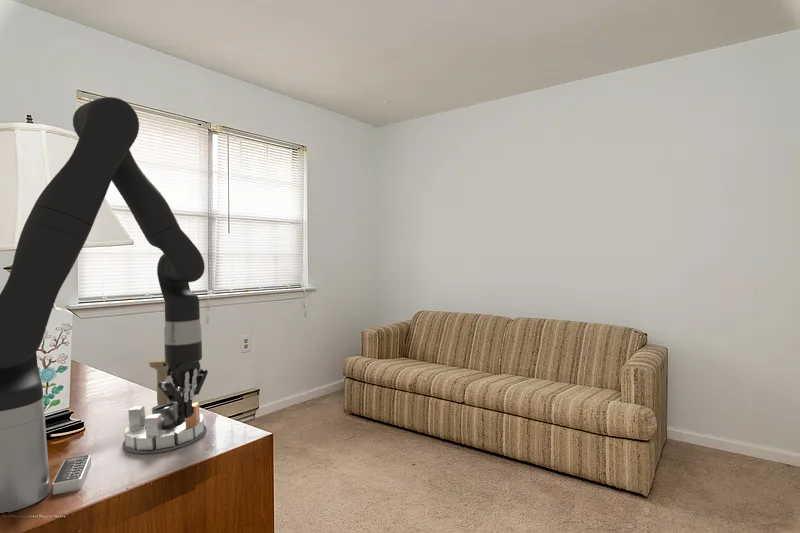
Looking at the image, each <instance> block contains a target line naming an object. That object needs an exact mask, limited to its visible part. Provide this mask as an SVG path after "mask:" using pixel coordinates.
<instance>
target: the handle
mask: <svg viewBox="0 0 800 533" xmlns="http://www.w3.org/2000/svg"><path fill="white" fill-rule="evenodd" d="M148 364H149V367H150V368H151V369H155V370H156V401H157V402H156V403H157V405H161V404H166V403H167V399H168V398H167V396H166V395H165V394H164V393H163V392H162V390H161V389H160V388H159V387H158V384H159V383H160V382H164V381H165V379H166V378H167V371H168V364H167V363H166V362H165V356H164V357H157V358H153V359H150V360H148Z"/></svg>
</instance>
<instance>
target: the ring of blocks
mask: <svg viewBox="0 0 800 533" xmlns="http://www.w3.org/2000/svg"><path fill="white" fill-rule="evenodd" d="M151 414H161V415H162V430H167V429H172V428H174V427H177V426H178V422H177V405H176V404H174V402H171V403H166V404H161V405H158V404H157V405H155V406H153V407H152V408H151ZM206 433H207V426H206V425H205V424H204V430H203V432H202V433H200V434H199V435H198V436H197V437H196V438H193V439H192V440H189V441H187V442H184V443H182V444H179V445H178V444H175V446H171V447H166V448H161V449H156V448H154V449H153V450H137V448H136V449H132V448H130V447H128V446H126V445H125V439H124V440H123V442H122V449H123V450H124V451H125V452H127V453H130V454H134V455H154V454H162V453H167V452H171V451H176V450H179V449H182V448H185V447H187V446H190V445H193V444H194V443H196V442H198V441H199V440H201V439H202V438H203V437H204V436H205V435H206Z"/></svg>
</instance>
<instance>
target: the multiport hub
mask: <svg viewBox="0 0 800 533" xmlns="http://www.w3.org/2000/svg"><path fill="white" fill-rule="evenodd" d="M91 466H92V455H91V454H86V455H81V456H75V457H69V458H65V459H64V460H63V462H62V463H61V466H60V468H59V469H58V471H57V473H56V476H55V477H54V479H53V480H52V483H51V490H52V491H51V492H52V495H58V494H59V495H60V494H63V493H68V492H73V491H78V490H80V489H82V488H83V487H84V484H85V481H86V480H87V476H88V474H89V471H90V469H91Z"/></svg>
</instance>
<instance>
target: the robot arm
mask: <svg viewBox="0 0 800 533" xmlns="http://www.w3.org/2000/svg"><path fill="white" fill-rule="evenodd" d="M72 126H73V129H74V132H75V134H76V135H77V137H78V140H77V143H76V144H75V147H74V150H73V152H72V153H71V155H70V157H69V159H68V160H67V161H66V162H65V164H64V166H62V167H61V169H60V170H59V171H58V172H57V173H56V174H55V176H54V177H53V178H52V179H51V180H50V182H49V183H48V184H47V185H46V186H45V187H44V189H43V190H42V192H41V194H40V195H39V196H38V198H37V199H36V201H35V203H34V205H33V206H32V208H31V211H30V213H29V215H28V217H27V219H26V221H25V223H24V224H23V227H22V230H21V232H20V235H19V238H18V241H17V245H16V249H15V252H14V256H13V262H12V266H11V268H10V269H11V270H10V272H9V275H8V278H7V280H6V283H5V284H4V287H3V289H2V290H1V292H0V513H1V512H8V513H12V512H15V511H19V510H22V509H25V508H27V507H29V506H32V505H34V504H36V503H38V502H40V501H41V500H43V499H45V497H47V496H48V495H49V494H50V491H51V487H50V486H51V485H50V484H51V483H50V482H51V478H50V472H49V471H50V468H49V467H50V466H49V456H48V455H49V454H48V442H47V429H46V427H47V426H46V417H45V401H44V400H45V399H44V390H43V389H44V388H43V382H42V378H41V375H40V371H39V365H38V357H37V351H38V350H39V348H40V347H41V345H42V343H43V338H44V336H45V332H46V329H47V326H48V323H49V320H50V317H51V314H52V311H53V308H54V305H55V302H56V299H57V297H58V294H59V292H60V290H61V288H62V287H63V285H64V282H65V281H66V279H67V278H68V276H69V274H70V272H71V271H72V268H73V267H74V265H75V263H76V261H77V259H78V258H79V255H80V254H81V251H82V249H83V247H84V246H85V244H86V241H87V239H88V237H89V235H90V232H91V231H92V228H93V226H94V223H95V221H96V218H97V216H98V214H99V211H100V209H101V207H102V205H103V203H104V199H105V198H106V195H107V192H108V190H109V187H110V185H111V183H113V185H114V186H115V188H116V189H117V191H118V193H119V194H120V195H121V197H122V198H123V200H124V202H125V204H126V205H127V207H128V208H129V211H130V212H131V214H132V215H133V217H134V220H135V222H136V223H137V225H138V227H139V229H140V230H141V232H142V233H143V235H144V238H145V239H146V241H147V242H148V244H150V245H151V246H152V247H155V248H157V249H159V250H160V251H161V252H162V253H163V254H162V255H161V256H160V257H159V259H158V262H157V265H156V274H157V279H158V283H159V288H160V292H161V295H162V297H163V301H164V328H163V329H164V330H163V331H164V332H163V334H164V335H163V340H164V357H165V362H166V363H167V364H168V371H167V378H166V379H165V381H164V382H160V383H159V384H158V387H159V388H160V389H161V390H162V392H163V393H164V394H165V395H166V396H167V398H168V399H169V400H170V401H176V402H177V403H178V416H179V417H180V418H183V419H186V418H188V417H190V416H191V415H192V403H193V400H194V398H195V396H197V395H200V392H201V390H202V387H203V385H204V382H205V380H206V378H207V376H208V372H209V371H208V370H207V369H203V368H202V367H201V363H200V361H201V360H202V358H203V346H202V345H203V344H202V342H203V341H202V339H203V338H202V324H201V320H200V319H201V314H200V299H199V296H198V295H197V293H194V292H192V291H191V289H190V284H189V283H194V282H196V281H197V282H198V280H200V279H201V278H202V277H203V275H204V273H205V268H206V267H205V261H204V258H203V255H202V254H201V252H200V250H199V248H198V247H197V246H196V245H195V244H194V242H193V241H192V240H191V239H190V237H189V236H188V235H187V234H186V233H185V232H184V230H182V229H181V227H180V224H179V222H178V220H177V218H176V216H175V215H174V212H173V211H172V209H171V207H170V205H169V203H168V202H167V201H166V198H165V197H164V196H163V195H162V193H161V192H160V190H158V188H157V187H156V186H155V185H154V184H153V182H152V181H150V179H149V178H148V177H147V176H146V174H144V172H143V171H142V169H141V168H140V166H139V165H138V164H137V161H136V159H135V158H134V156H133V154H132V152H131V150H130V149H131V147H132V146H133V144H134V143H135V141H136V139H137V138H138V135H139V132H140V121H139V117H138V114H137V112H136V110H135V109H134V108H133V106H132V105H131V104H130V103H129V102H127V101H126V100H124V99H121V98H119V97H114V96H107V97H106V96H105V97H99V98H95V99H92V100H91V101H88V102H87V103H84V104H82V105H80V106H79V107H78V108H77V109H76V111H74V113H73V117H72Z"/></svg>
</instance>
